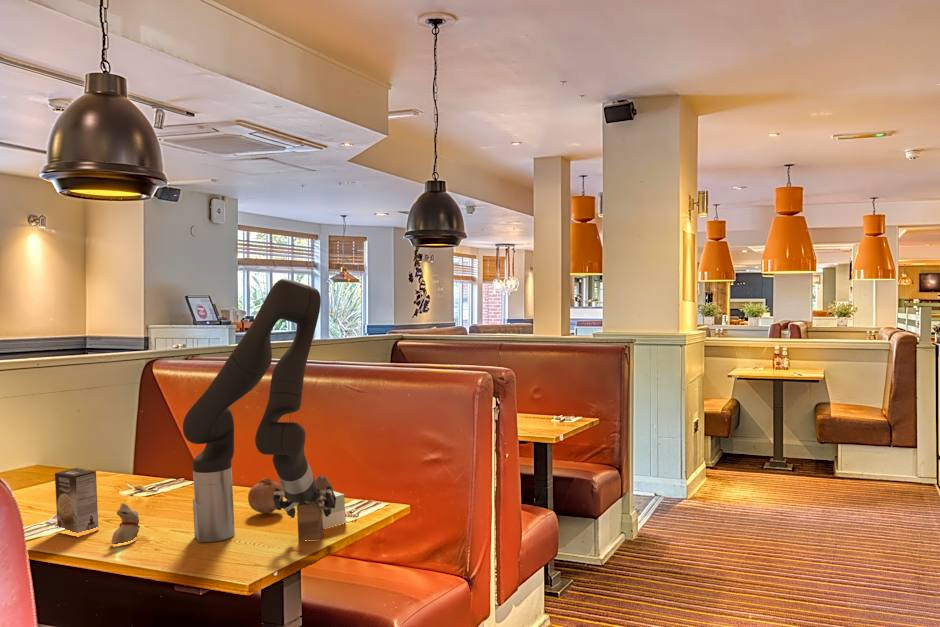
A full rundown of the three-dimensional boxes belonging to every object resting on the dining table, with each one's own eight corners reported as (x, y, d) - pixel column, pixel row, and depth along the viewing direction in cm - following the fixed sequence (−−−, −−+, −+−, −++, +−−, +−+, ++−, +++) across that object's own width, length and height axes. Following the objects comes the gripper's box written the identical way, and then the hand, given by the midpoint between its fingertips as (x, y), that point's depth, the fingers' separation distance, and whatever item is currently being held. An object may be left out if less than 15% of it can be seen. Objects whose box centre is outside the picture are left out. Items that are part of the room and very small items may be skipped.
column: (318, 540, 191) (317, 500, 191) (298, 541, 191) (296, 500, 191) (323, 534, 196) (321, 494, 196) (303, 535, 196) (301, 495, 196)
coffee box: (56, 533, 206) (52, 472, 205) (79, 526, 211) (76, 467, 211) (77, 538, 201) (74, 475, 201) (100, 531, 207) (97, 470, 206)
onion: (291, 512, 218) (289, 476, 218) (265, 521, 210) (263, 483, 210) (267, 507, 223) (266, 472, 223) (241, 516, 215) (239, 480, 215)
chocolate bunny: (146, 540, 197) (144, 501, 196) (113, 548, 191) (111, 508, 191) (137, 536, 201) (135, 497, 200) (105, 544, 195) (103, 504, 195)
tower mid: (321, 515, 200) (320, 499, 200) (307, 510, 205) (306, 495, 205) (344, 509, 204) (344, 494, 204) (330, 504, 210) (329, 489, 210)
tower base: (322, 531, 200) (322, 515, 200) (308, 525, 205) (307, 510, 205) (345, 524, 205) (345, 509, 205) (330, 519, 210) (330, 504, 210)
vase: (329, 511, 217) (328, 479, 217) (306, 510, 218) (304, 479, 218) (338, 504, 224) (337, 474, 223) (316, 504, 225) (314, 473, 225)
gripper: (329, 463, 184) (340, 499, 196) (268, 466, 185) (284, 501, 197) (325, 492, 179) (337, 526, 191) (263, 494, 180) (279, 528, 192)
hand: (310, 513), depth 194 cm, fingers open, 8 cm apart
